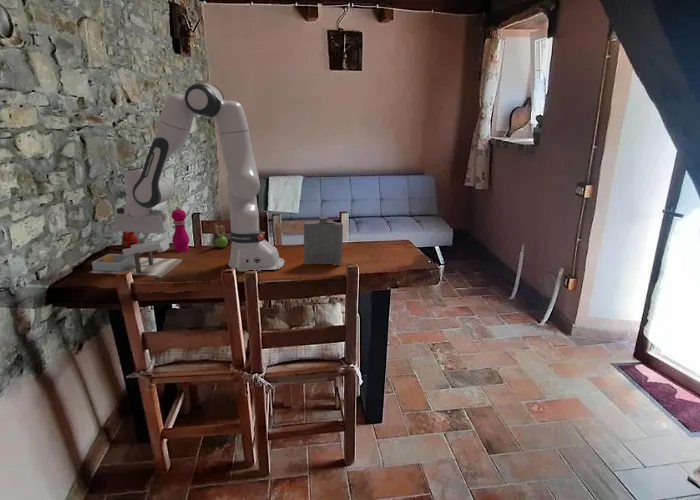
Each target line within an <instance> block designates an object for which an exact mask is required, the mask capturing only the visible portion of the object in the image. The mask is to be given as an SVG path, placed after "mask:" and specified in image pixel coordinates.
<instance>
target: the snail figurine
mask: <svg viewBox="0 0 700 500" xmlns="http://www.w3.org/2000/svg"><path fill="white" fill-rule="evenodd" d="M214 229H215V234H216V235H217V237H216V239H215V245H216V246H217V247H218V248H221V249H222V248H223V249H224V248H225V247H227V246H228V244H229V241H228V238H227V237H225V234H226V233H225V232H226V227H225V226H224V225H221V224H220V225H219V226H218V224H217V223H214Z"/></svg>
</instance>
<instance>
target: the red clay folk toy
mask: <svg viewBox="0 0 700 500" xmlns="http://www.w3.org/2000/svg"><path fill="white" fill-rule="evenodd" d="M134 244H140V243H138V239H137V238H136V236H135V235H134V232H123V235H122V236H121V247H122V250H123V249H128V248H131V245H134Z"/></svg>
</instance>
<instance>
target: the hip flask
mask: <svg viewBox="0 0 700 500" xmlns="http://www.w3.org/2000/svg"><path fill="white" fill-rule="evenodd" d="M318 219H319V221H305V222H303V264H304V265H305V264H336V265H338V264H342V265H343V239H344V238H343V234H344V229H343V228H344V225H343V224H344V223H343V222H336V221H330V220H328V219H329V217H328V216H324V215H323V216H318ZM336 265H335V266H336Z"/></svg>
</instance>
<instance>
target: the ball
mask: <svg viewBox="0 0 700 500" xmlns="http://www.w3.org/2000/svg"><path fill="white" fill-rule="evenodd" d="M104 256H105V255H104ZM103 262H114V258H113V257H112V256H105V257H104V258H103Z"/></svg>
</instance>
